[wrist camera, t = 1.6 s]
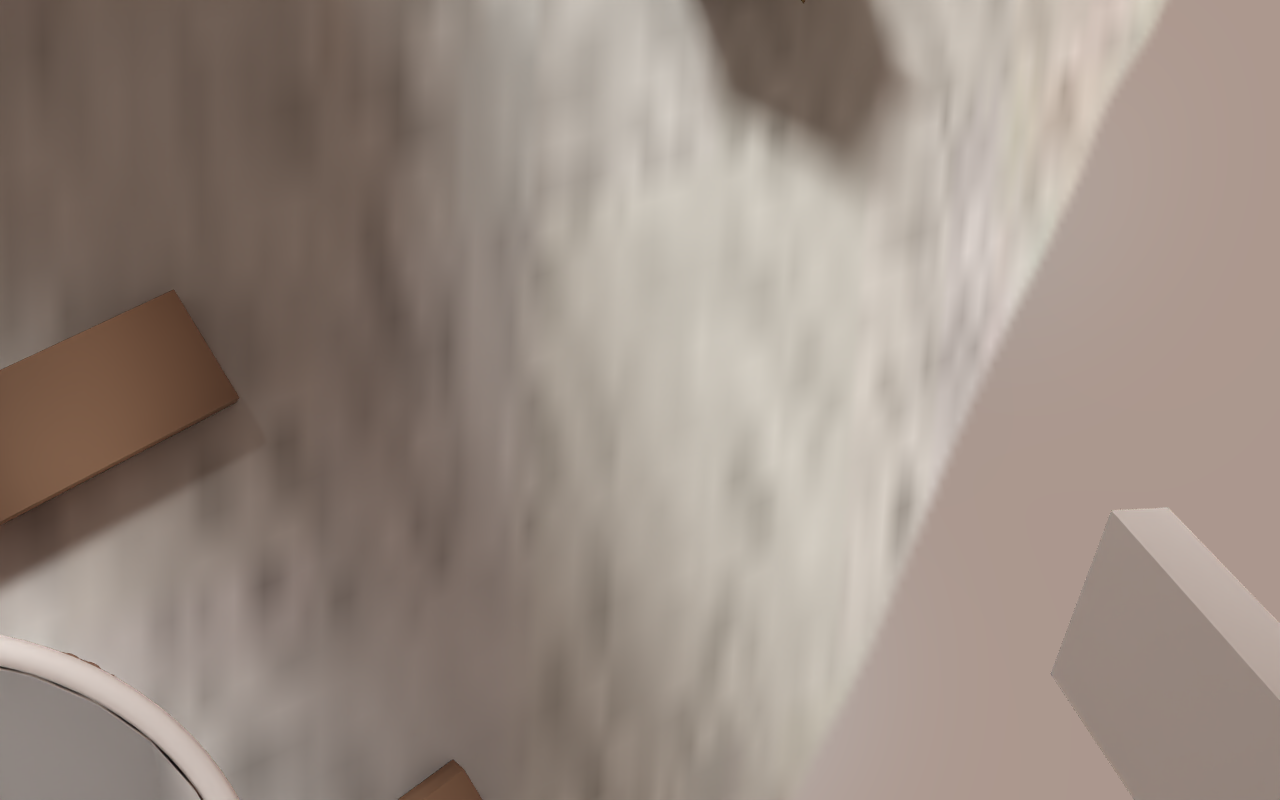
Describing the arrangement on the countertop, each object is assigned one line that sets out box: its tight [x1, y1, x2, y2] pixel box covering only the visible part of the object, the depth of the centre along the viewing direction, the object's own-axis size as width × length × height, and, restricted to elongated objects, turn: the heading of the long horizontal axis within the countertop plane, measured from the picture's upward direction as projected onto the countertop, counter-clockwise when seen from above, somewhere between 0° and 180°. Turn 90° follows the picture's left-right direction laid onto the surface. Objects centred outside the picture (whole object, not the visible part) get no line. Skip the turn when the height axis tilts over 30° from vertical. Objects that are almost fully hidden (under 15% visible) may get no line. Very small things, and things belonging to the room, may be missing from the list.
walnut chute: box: [0, 290, 482, 800], centre depth 24 cm, size 14×17×1 cm
